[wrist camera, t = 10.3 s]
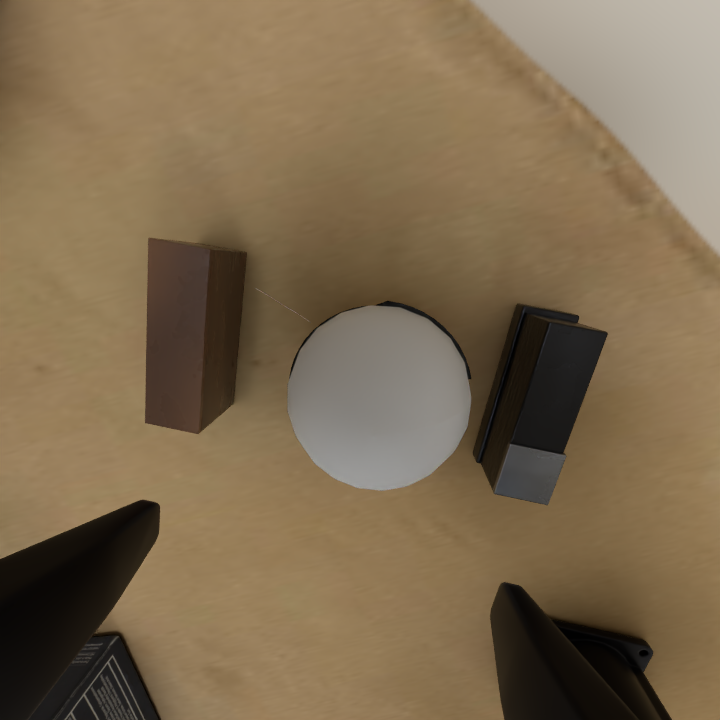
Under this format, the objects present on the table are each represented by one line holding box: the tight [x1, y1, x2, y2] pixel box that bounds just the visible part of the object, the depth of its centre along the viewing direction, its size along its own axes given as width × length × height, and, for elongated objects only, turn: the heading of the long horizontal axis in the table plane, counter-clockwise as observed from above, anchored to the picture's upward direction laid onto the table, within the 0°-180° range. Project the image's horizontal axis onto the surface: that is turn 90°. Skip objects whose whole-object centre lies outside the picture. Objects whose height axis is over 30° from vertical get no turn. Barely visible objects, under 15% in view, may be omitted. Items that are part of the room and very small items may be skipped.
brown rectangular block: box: [145, 238, 247, 434], centre depth 17 cm, size 2×8×4 cm, turn 170°
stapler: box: [473, 304, 608, 505], centre depth 16 cm, size 2×8×4 cm, turn 170°
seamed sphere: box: [255, 288, 471, 491], centre depth 14 cm, size 10×7×7 cm
